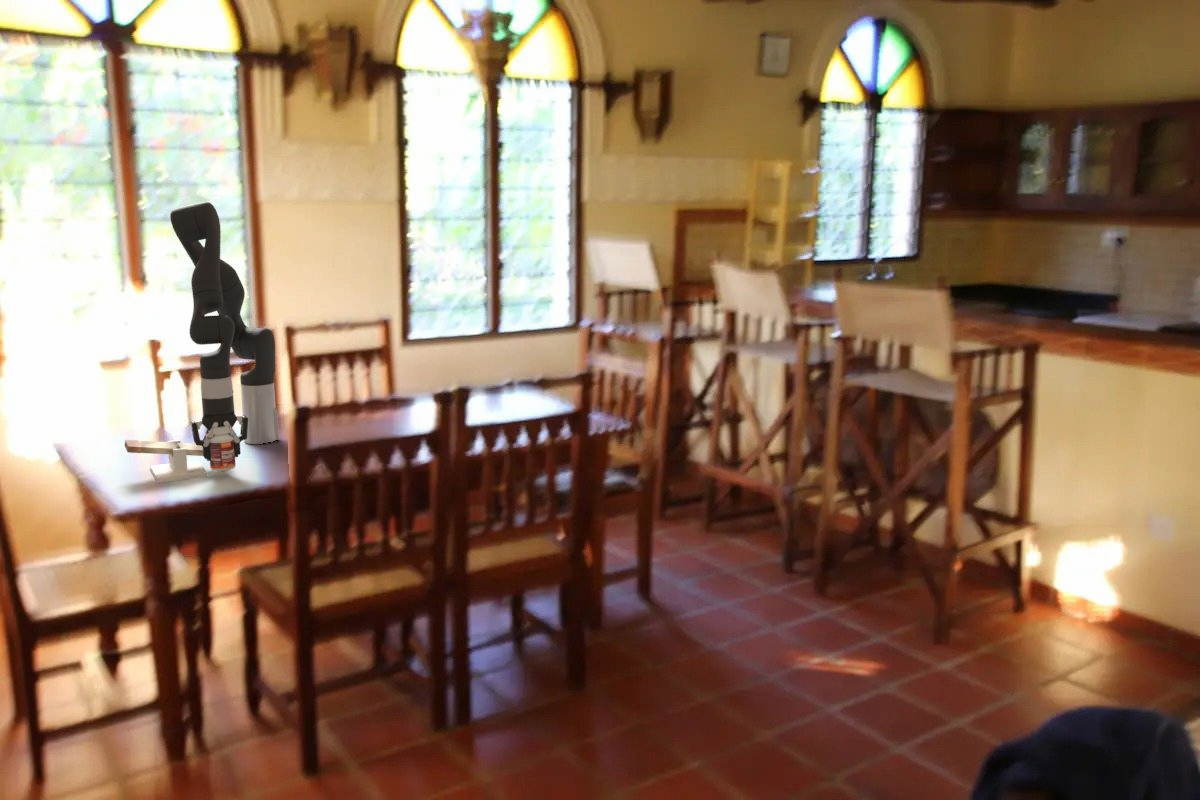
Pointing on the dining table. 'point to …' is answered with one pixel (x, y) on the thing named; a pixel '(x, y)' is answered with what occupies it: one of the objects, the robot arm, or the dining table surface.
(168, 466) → the pivot stand
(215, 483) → the dining table surface
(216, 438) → the pill bottle
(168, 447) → the board
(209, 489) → the dining table surface
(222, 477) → the dining table surface
